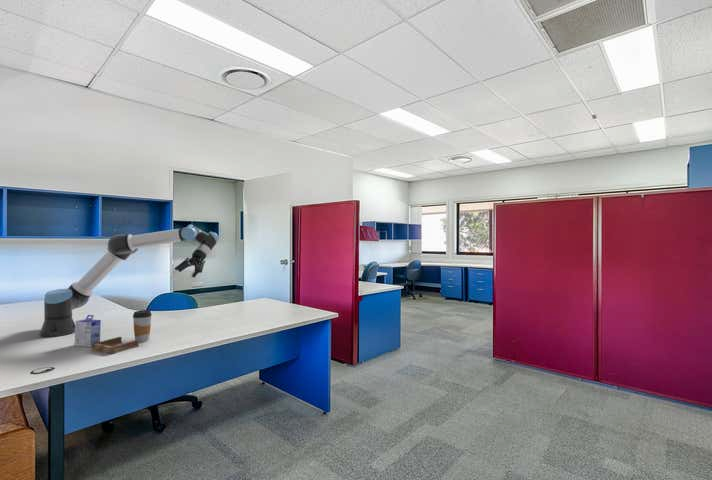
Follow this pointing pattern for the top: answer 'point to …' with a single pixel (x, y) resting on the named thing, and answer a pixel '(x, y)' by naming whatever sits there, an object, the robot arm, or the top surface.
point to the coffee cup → (142, 325)
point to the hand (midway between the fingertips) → (180, 280)
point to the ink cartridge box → (87, 332)
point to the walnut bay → (110, 349)
